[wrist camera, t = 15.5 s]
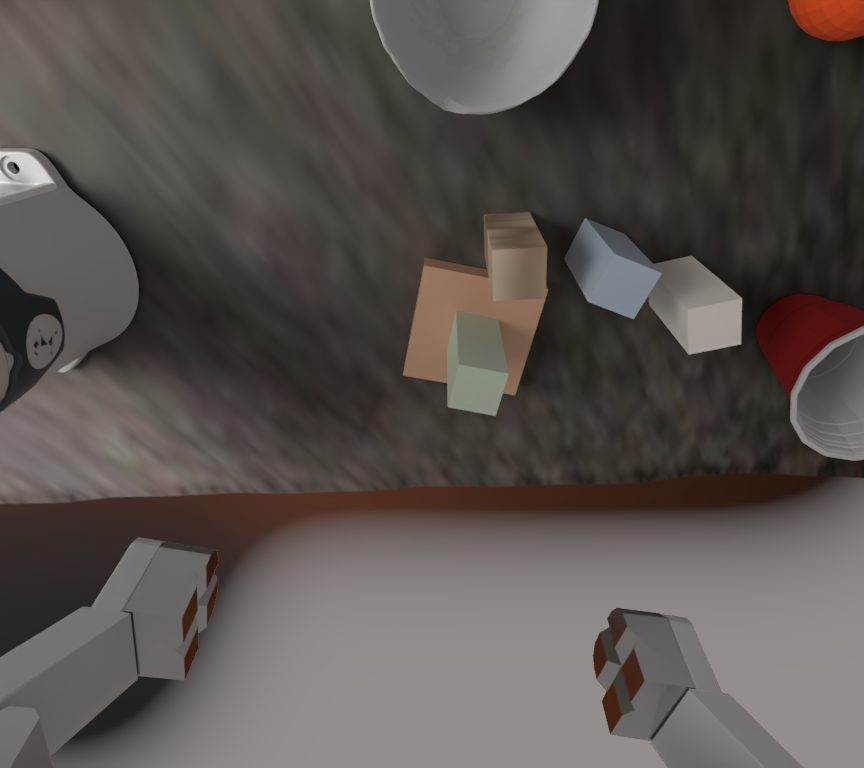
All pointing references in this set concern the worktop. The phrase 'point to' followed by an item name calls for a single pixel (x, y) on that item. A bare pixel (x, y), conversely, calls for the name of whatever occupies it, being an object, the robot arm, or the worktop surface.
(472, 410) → the sage green post
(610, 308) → the dusty blue post
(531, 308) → the terracotta tile
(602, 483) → the worktop surface
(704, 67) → the worktop surface
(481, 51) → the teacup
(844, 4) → the clementine
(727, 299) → the cream post
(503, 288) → the beech post
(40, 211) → the robot arm
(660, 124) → the worktop surface
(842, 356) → the plastic cup
